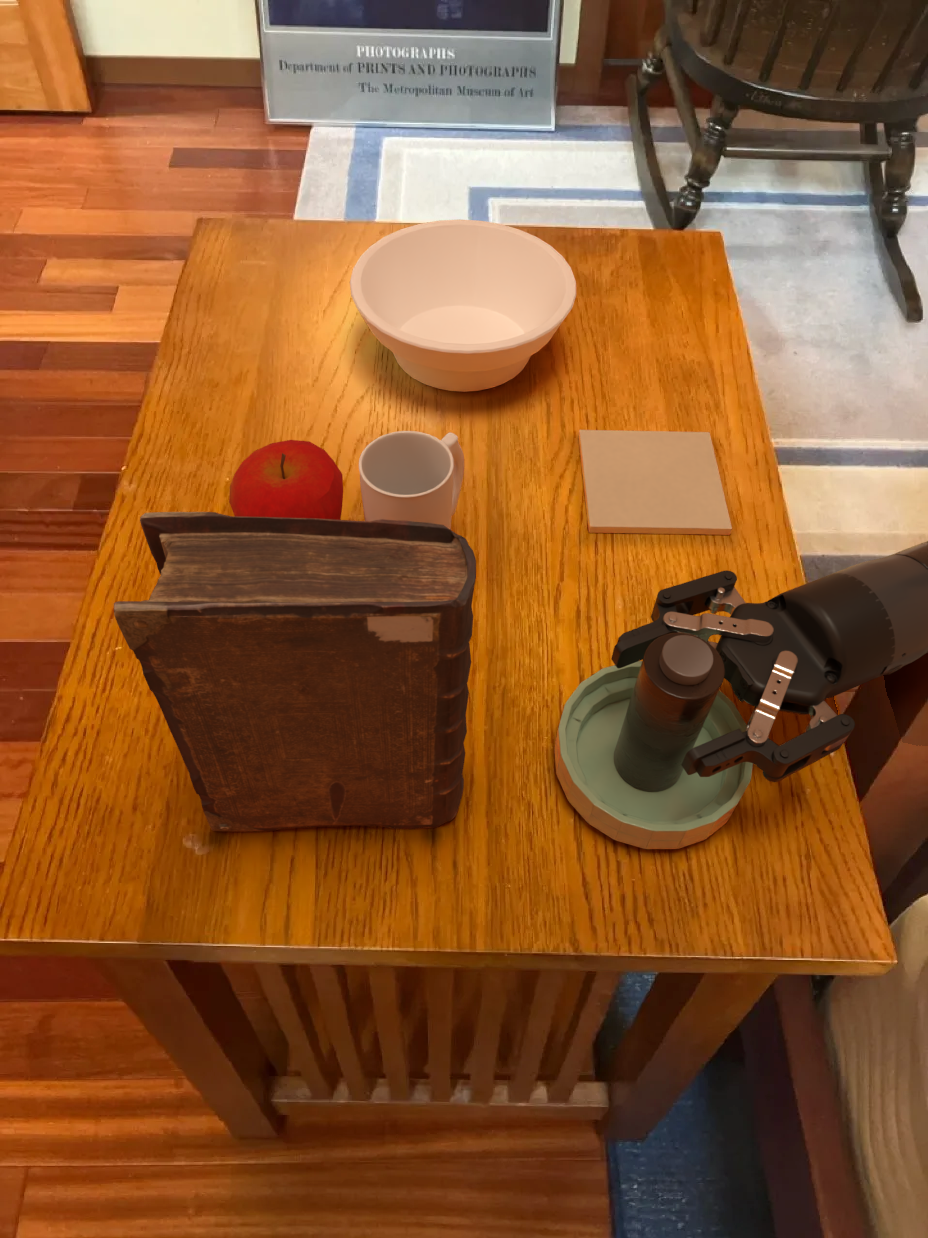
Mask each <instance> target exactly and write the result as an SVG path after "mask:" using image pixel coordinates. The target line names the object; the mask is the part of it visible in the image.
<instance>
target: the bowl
mask: <svg viewBox="0 0 928 1238" xmlns="http://www.w3.org/2000/svg"><path fill="white" fill-rule="evenodd" d="M349 291H350V297H351V298H352V301H353V303H354V305H355V308H356V309H357V311H358V313H359V314H360V316H361V318H362V319H363V320H364V322H365V323H366V326H367V327H368V328H369V330H370V332H371V333H372V335H374V337H375V338H376V339H377V340H378V341H379V343H380V344H381V345H382V346H384V347H385V348H387V349H388V350H389V351H391V352H392V354H393V356H394V359H395V361H396V363H397V365H399V367H400V368H401V369H402V370H403V372H404V373H406V374H407V375H408V376H409V377H411V378H412V379H414V380H415V381H418V382H420V383H422V384H423V385H425V386H426V385H427V386H429V387H432V388H435V389H440V390H443V391H451V392H479V391H482V390H483V391H484V390H488V389H492V388H495V387H498V386H500V385H504V384H506V383H507V382H509V381H511V380H513V379H514V378H516V376H518V375H519V374H521V372H522V371H523V370H524V368H525V367H526V365H527V364H528V363H529V360H530V358H531V357H532V356H534V354H537V353H538V352H539V351H540V350H541V349H543V348H544V347H545V346H546V345H548V344H549V342H550V340H551V339H552V338H553V336H554V334H555V333H556V332H557V331H558V329H559V327H560V326H561V325H562V324H563V323H564V320H565V319H566V318H567V316H568V315H569V313H570V312H571V311H572V309H573V307H574V304H575V300H576V298H577V280H576V278H575V275H574V272H573V270H572V267H571V266H570V264H569V263H568V261H567V260H566V259H565V257H564V256H563V255H562V254H560V252H559V251H557V250H556V249H555V248H554V247H553V246H552V245H551V244H550V243H547V242H546V241H544V240H543V239H541V238H539V237H538V236H536V235H534V234H531V233H529V232H527V231H524V230H522V229H519V228H515V227H513V226H508V225H506V224H502V223H497V222H491V221H485V220H478V219H477V220H475V219H443V220H442V219H441V220H440V219H439V220H433V221H428V222H422V223H418V224H414V225H410V226H407V227H403V228H400V229H398V230H396V231H394V232H391V233H389V234H386V235H384V236H383V237H382V238H379V240H377V241H376V242H374V243H373V244H371V245H369V247H368V248H367V249H366V250H365V251H364V252H363V253H362V254H360V256H359V258H358V260H357V261H356V263H355V264H354V266H353V268H352V271H351V275H350V280H349Z"/></svg>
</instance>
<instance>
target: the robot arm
mask: <svg viewBox="0 0 928 1238" xmlns="http://www.w3.org/2000/svg"><path fill="white" fill-rule="evenodd" d="M737 581H738V575H736V573H735V572H734V571H731V570H728V569H727V570H721V571H719V572H718V571H717V572H715V573H712V574H709V575H706V576H701V577H699V578H696V579H692V580H689V581H686V582H682V583H679V584H676V585H673V586H669V587H666V588H662V589H661V590H659V591H658V592H657V595H656V599H655V601H654V604H653V607H652V611H651V615H650V619H651V621H652V622H648V623H647V624H644V625H641V626H638V627H637V628H633V629H631V630H628V631H625V632H623V633H622V634H621V635H620V636H619V637H618V638H617V642H616V644H615V645H614V647H613V651H612V655H611V657H610V659H611V661H612V663H613V664H614V665H616V667H617V668H622V667H625V666H627V665H630V664H632V663H635V662H638V661H643V658H644V655H645V652H646V650H647V648H648V646H649V645H650V644H651V643H652V642H653V641H654V640H656V639H657V638H659V637H661V636H663V635H666V634H670V633H687V634H691V635H694V636H697V637H699V638H702V639H703V640H705V641H707V642H708V643H709V644H711V645H712V646H713V647H714V648H715V649H716V650H717V652H718V653H719V655H720V656H721V658H722V661H723V664H724V668H725V675H724V680H726V681H727V682H728V683H729V684H730V687H731V689H732V692H733V694H734V695H735V697H736V698H737V699H738V700H739V702H740V703H743V702H745V703H746V704H748V705H750V706H752V707H753V709H752V712H751V714H750V716H749V719H748V722H747V723H746V725H747V726H746V730H745V732H743V733H742V731H741V730H740V729H737V730H734V731H732V732H730V733H727V734H725V735H723V736H720V737H718V738H715V739H713V740H711V741H708V742H706V743H704V744H701V745H699V746H697V747H694V748H692V749H691V750H689V751H688V752H687V753H686V755H685V757H684V760H683V762H682V764H681V765H682V767H683V768H684V770H685V771H686V773H687V774H688V775H692V774H694V773H696V772H697V773H698V775H699V776H700V777H710V776H712V775H714V774H716V773H719V772H721V771H723V770H726V769H728V768H730V767H732V766H735V765H737V764H739V763H742V762H750V763H753V765H754V766H756V767H757V768H759V769H760V770H761V771H762V775H763V777H764V779H765V780H767V781H768V782H770V783H779V782H780V781H782V780H785V779H786V778H788V777H790V776H791V775H794V774H795V773H797V772H799V771H801V770H803V769H804V768H806V767H808V766H810V765H812V764H814V763H815V762H818V761H820V760H821V759H823V758H826V757H827V756H829V755H830V754H833V753H834V752H836V751H838V750H839V749H841V747H843V745H844V743H845V742H846V741H847V739H848V738H849V736H850V735H851V733H852V732H853V730H854V729H855V728H856V723H855V720H854V719H853V717H851V716H850V715H849V714H845V713H840V714H837V713H836V712H835V711H834V710H833V708H832V707H831V706H830V705H829V704H828V703H827V701H825V700H827V699H831V698H833V697H836V696H838V695H841V694H843V693H845V692H847V691H849V690H852V689H854V688H857V687H860V686H862V685H864V684H866V683H868V682H870V681H872V680H875V679H877V678H880V677H882V676H884V675H885V676H886V675H892V674H894V673H895V672H898V671H899V670H901V669H902V668H904V667H905V666H907V665H909V664H911V663H913V662H915V661H917V660H919V659H921V657H923V656H924V655H926V654H928V540H926V541H924V542H921V543H918V544H915V545H912V546H911V547H908V548H905V549H903V550H900V551H896V552H894V553H892V554H889V555H887V556H884V557H881V558H880V557H879V558H875V559H871V560H865V561H863V562H860V563H856V564H853V565H851V566H848V567H845V568H844V569H841V570H838V571H836V572H833V573H830V574H827V575H824V576H822V577H819V578H816V579H815V580H812V581H810V582H807V583H804V584H801V585H799V586H797V587H794V588H791V589H789V590H786V591H783V592H781V593H779V594H776V595H775V596H773V597H771V598H770V599H769V600H767V601H764V602H755V603H754V602H746V601H745V600H744V598H743V597H742V596H741V594H740V593H739V591H738V590H737V588H736V587H735V585H736V584H737ZM708 611H709V613H708ZM704 612H707V613H704ZM721 612H724V613H727V614H729V615H730V616H724V615H719V614H717V613H721ZM701 613H702V614H701ZM698 614H701V615H698ZM714 635H715V636H716V635H717V636H720V637H719V640H718V642H715V641H711V640H709V639H710V637H712V636H714ZM779 712H783V713H790V714H795V715H800V716H808V715H809V718H810V720H809V722H808V723H807V724H806V727H805V730H804V732H803V733H801V734H799V735H796V736H795V737H793V738H791V739H789V740H787V741H785V742H784V743H782V744H780V745H778V744H777V743H776V742H775V741H773V740H772V739H770V738H769V735H770V733H771V730H772V727H773V726H774V725H773V724H774V723H775V720H776V717H777V715H778V713H779Z"/></svg>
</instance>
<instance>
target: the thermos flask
mask: <svg viewBox="0 0 928 1238" xmlns="http://www.w3.org/2000/svg"><path fill="white" fill-rule="evenodd" d="M641 661H642V664H641V667H640V671H639V674H638V677H637V680H636V683H635V687H634V690H633V693H632V696H631V699H630V703H629V706H628V709H627V712H626V715H625V719H624V722H623V725H622V728H621V731H620V735H619V738H618V741H617V744H616V748H615V751H614V764H615V767H616V770H617V772H618V773H619V775H620V776H621V778H622V779H623V780H624V781H625V782H627V783H628V784H629V785H631V786H632V787H634V788H636V789H639V790H642V791H646V792H659V791H663V790H666V789H668V788H670V787H671V786H673V785H674V784H675V783H676V782H677V781H678V779H679V778H680V776H681V774H682V771H683V769H684V768H683V767H682V765H681V764H682V762H683V760H684V757H685V755H686V753H687V752H688V751H689V750H691V749H692V748H693V747H694V745H695V742H696V740H697V738H698V736H699V734H700V731H701V729H702V727H703V725H704V722H705V720H706V718H707V716H708V713H709V711H710V709H711V707H712V705H713V702H714V700H715V698H716V696H717V693H718V691H719V690H721V687H722V684H723V682H724V680H725V678H724V675H725V668H724V664H723V661H722V658H721V656H720V655H719V653H718V652H717V650H716V649H715V648H714V647H713V646H712V645H711V644H709V643H708V642H707V641H705V640H703V639H702V638H699V637H697V636H694V635H691V634H687V633H670V634H666V635H663V636H661V637H659V638H657V639H656V640H654V641H653V642H652V643H651V644H650V645H649V646H648V648H647V650H646V652H645V655H644V658H643V660H641Z"/></svg>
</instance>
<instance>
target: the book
mask: <svg viewBox="0 0 928 1238" xmlns="http://www.w3.org/2000/svg"><path fill="white" fill-rule="evenodd" d="M139 523H140V526H141V528H142V531H143V534H144V538H145V540H146V543H147V545H148V548H149V551H150V554H151V556H152V557H153V559H154V561H155V564H156V568H157V570H158V572H159V575H160V576H159V577H158V578H157V582H156V584H155V586H154V587H153V590H152V592H151V594H150V596H149V599H146V600H145V599H144V600H141V601H140V600H138V601H136V600H133V601H132V600H129V601H128V600H127V601H126V600H121V601H120V600H119V601H115V602H113V615H114V618H115V621H116V624H117V625H118V628H119V630H120V633H121V635H122V636H123V638H124V641H125V642H126V644H127V646H128V648H129V649H130V650H131V651H132V652H133V655H134V656H135V658H136V660H138V661H139V664H140V665H141V670H142V675H143V677H144V679H145V681H146V684H147V686H148V688H149V690H150V691H151V693H152V694H153V696H154V697H155V699H156V701H157V703H158V706H159V708H160V710H161V712H162V715H163V717H164V720H165V722H166V725H167V727H168V729H169V731H170V734H171V735H172V737H173V740H174V743H175V745H176V746H177V749H178V751H179V753H180V756H181V759H182V760H183V763H184V765H185V768H186V769H187V771H188V774H189V777H190V780H191V784H192V787H193V789H194V791H195V793H196V795H198V797H199V799H200V802H201V808H202V811H203V813H204V816H205V818H206V821H207V823H208V826H209V828H210V829H211V831H213V832H273V831H274V832H275V831H278V830H287V829H302V828H303V829H305V828H320V827H325V828H326V827H384V828H387V829H394V830H396V829H398V830H418V829H433V828H435V829H436V828H439V827H440V826H442V825H444V824H445V823H447V822H448V823H449V822H451V821H452V820H453V819H454V818H455V817H456V816H457V814H458V811H459V808H460V804H461V801H462V798H463V793H464V788H465V786H464V785H465V784H464V782H465V780H464V779H465V778H464V776H463V772H464V765H465V758H466V748H465V740H466V736H467V732H468V729H467V728H468V727H467V726H468V725H467V709H468V702H469V696H470V695H469V694H470V691H469V685H468V682H469V678H470V673H471V672H470V671H471V667H472V656H471V644H470V641H471V639H472V637H473V629H474V611H473V607H472V606H473V598H474V590H475V585H476V579H477V559H476V556H475V552H474V550H473V548H472V547H471V546H470V544H469V543H468V541H467V538H466V537H464V536H462V535H461V534H458V533H457V532H454V531H453V530H452V529H451V530H450V529H448V528H447V527H446V526H444V525H440V524H433V523H424V522H414V521H396V520H385V519H380V520H374V521H365V520H349V519H341V520H335V519H317V518H284V517H238V516H234V515H233V516H231V515H228V514H223V513H218V512H216V511H154V512H153V511H152V512H144V513H143V514H142V515H141V516H140V517H139Z"/></svg>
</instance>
